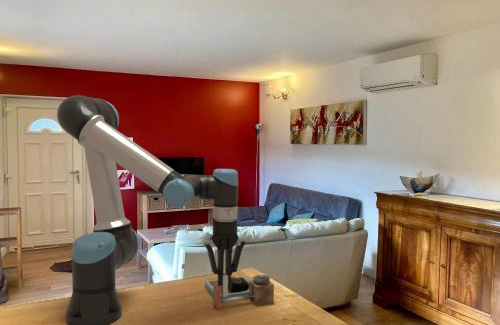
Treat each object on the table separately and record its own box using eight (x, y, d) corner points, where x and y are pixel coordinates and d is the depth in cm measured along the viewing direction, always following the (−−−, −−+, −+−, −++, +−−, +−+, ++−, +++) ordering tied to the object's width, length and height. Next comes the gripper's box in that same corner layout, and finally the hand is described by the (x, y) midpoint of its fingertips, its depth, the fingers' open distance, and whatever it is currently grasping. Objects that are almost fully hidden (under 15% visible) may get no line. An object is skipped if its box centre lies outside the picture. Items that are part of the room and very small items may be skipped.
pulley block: (256, 306, 130) (256, 279, 129) (249, 299, 135) (249, 274, 135) (273, 303, 132) (274, 277, 132) (265, 297, 138) (266, 272, 137)
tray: (217, 303, 132) (217, 296, 132) (204, 287, 146) (204, 281, 146) (261, 297, 138) (261, 290, 137) (244, 282, 151) (244, 276, 151)
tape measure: (249, 293, 139) (249, 282, 139) (230, 295, 137) (230, 284, 137) (242, 286, 146) (242, 275, 145) (223, 288, 143) (224, 277, 143)
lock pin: (217, 309, 126) (217, 286, 126) (213, 304, 130) (213, 282, 129) (258, 303, 131) (258, 281, 131) (253, 298, 135) (253, 277, 134)
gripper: (208, 223, 122) (207, 302, 123) (249, 220, 127) (248, 296, 128) (201, 218, 129) (200, 293, 130) (240, 216, 134) (239, 288, 135)
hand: (223, 294), depth 129 cm, fingers closed
